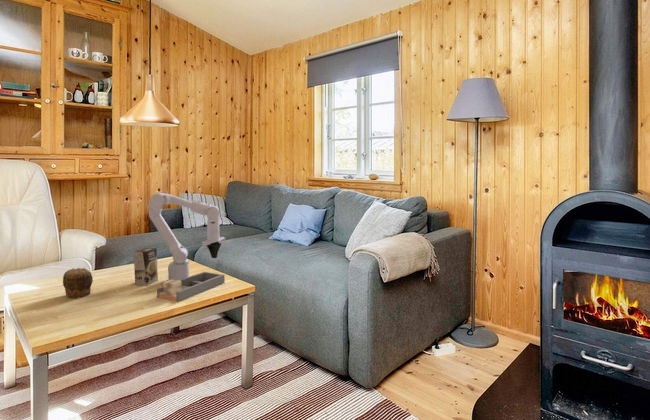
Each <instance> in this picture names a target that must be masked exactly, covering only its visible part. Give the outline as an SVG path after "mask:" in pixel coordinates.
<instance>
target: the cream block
mask: <svg viewBox="0 0 650 420" xmlns="http://www.w3.org/2000/svg"><path fill="white" fill-rule="evenodd" d="M163 286H164V294H167V295H172V296H173V295H176V292H178V291H181V290H182V288H181V281H179V280H173V279H172V280H169V281H167V280H166V281H164V282H163Z"/></svg>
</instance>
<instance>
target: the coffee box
mask: <svg viewBox="0 0 650 420" xmlns="http://www.w3.org/2000/svg"><path fill="white" fill-rule="evenodd" d="M157 251H158V250H157V247H144V248H140V249H137V250H134V251H133V263H134V265H133V267H134V285H135V286H146V287H147V286H149V285H151V284H153V283H156V282H158V281H159V275H158V273H159V272H158V252H157Z"/></svg>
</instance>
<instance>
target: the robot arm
mask: <svg viewBox="0 0 650 420" xmlns="http://www.w3.org/2000/svg"><path fill="white" fill-rule="evenodd" d="M172 204H173V205H174V204H175V205H176V206H177V205H178V206H181V207H184V208H189V209H190V210H191V212H192V213H195V214H199V215H201V216H203V217H204V216H206V217H207V221H206V226H207V227H206V230H207V234H206V236H207V239H205V240H204V241H201V246H202V247H207V249H208V251H209V253H210V257H211V258H212V259H217V258H218V254H219V251H220V248H221V246H222V243H221V242H225V241H226V237H225V236H221V235H220V217H219V216H220V210H219V208H218V206H216V205H214V204H213V205H211V203H204V202H202V200H199V199H198V200H193V201H191V200H187V199H184V198H182V197H180V196H177V195H173V194H170V193H164V192H160V191H159V192H156V193H154V194H152V195H151V197H150V199H149V201H148V217H149V219H150V221H151V222H152V224H153V225H154V227H155V228H156V229H157V231H158V232H159V234H160V235H161V237H162V239H163V240H164V242H165V243H166V245H167V247H168V248H169V252H170V254H171V255H172V260H173V261H171V262H170V263H169V264H168V267H167V274H168V276H167V277H168V279H167V280H166V281H169V280H172V279H173V280H182V279H184V278H187V277H190V264H189V263H190V262H189V260H188V256H189V250H188V249H187V248H186V247H185V246H183V245H182V244H181V243H180V241H179V240H178V239H177V238H176V236H175V234H174V233H173V231H172V229H171V228H170V226H169V225H168V223H167V222H166V220H165V218H164V217H163V216H162V212H163V207H164V206H165V205H172Z"/></svg>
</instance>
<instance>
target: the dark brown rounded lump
mask: <svg viewBox="0 0 650 420" xmlns="http://www.w3.org/2000/svg"><path fill="white" fill-rule="evenodd" d="M93 282H94V278H93V275H92V272H91V271H90V270H88V269H86V268H85V267H83V268H82V267H81V268H80V267H77V268H71V269H67V271H65V272H64V274H63V277H62V286H63V288H64V290H65V291H64V292H65V295H66V296H67V298H68V297H69V298H70V297H71V298H70V299H78V298H77V297H80V298H85V297H87V296H89V295H91V294H90V293H91V288H92V284H93ZM84 296H85V297H84Z"/></svg>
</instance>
